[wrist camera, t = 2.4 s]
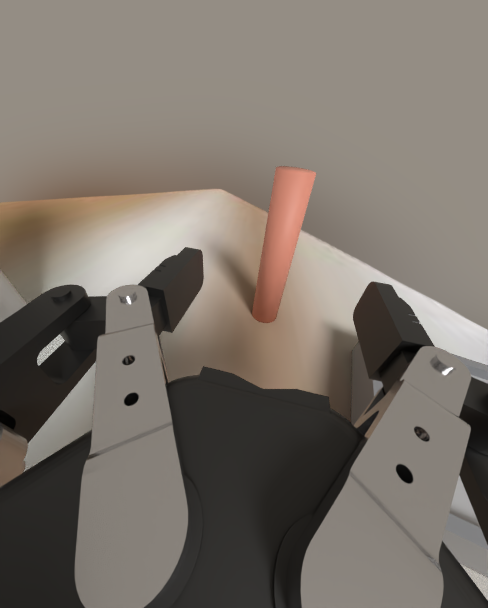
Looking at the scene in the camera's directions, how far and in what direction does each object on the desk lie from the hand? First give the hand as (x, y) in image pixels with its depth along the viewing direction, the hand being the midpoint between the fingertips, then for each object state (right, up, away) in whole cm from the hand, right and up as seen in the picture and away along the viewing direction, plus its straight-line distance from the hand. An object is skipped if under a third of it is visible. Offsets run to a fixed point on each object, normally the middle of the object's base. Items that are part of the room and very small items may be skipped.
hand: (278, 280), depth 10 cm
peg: (+1, -2, +17) cm, 17 cm away
